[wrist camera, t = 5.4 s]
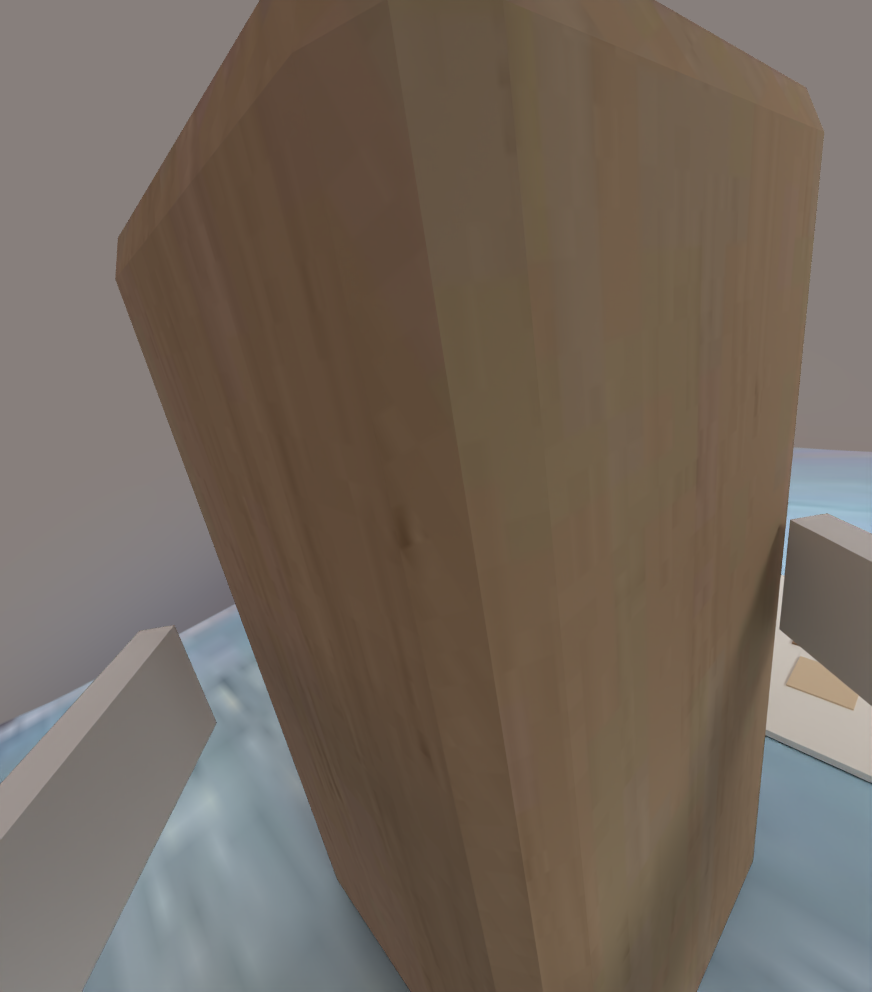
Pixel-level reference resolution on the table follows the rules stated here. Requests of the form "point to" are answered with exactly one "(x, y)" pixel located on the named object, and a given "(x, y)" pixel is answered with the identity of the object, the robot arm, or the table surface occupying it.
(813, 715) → the page
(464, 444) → the wooden block
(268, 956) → the table surface
